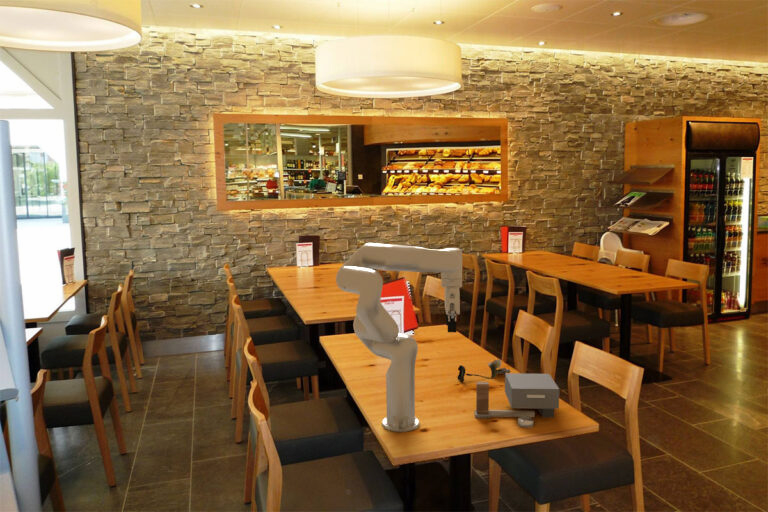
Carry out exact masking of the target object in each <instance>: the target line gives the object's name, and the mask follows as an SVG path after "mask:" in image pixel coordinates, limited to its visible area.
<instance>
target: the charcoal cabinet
mask: <svg viewBox="0 0 768 512" xmlns="http://www.w3.org/2000/svg"><path fill="white" fill-rule="evenodd" d="M504 393H505V396H506V397H507V401H508V403H509V405H510V408H511V409H537V410H538V412H539V414H540V415H541V417H542V418H553V417H554V418H555V410H556V409H557V410H559V408H560V388H559V386H558V384H557V383H556V382H555V381H554V379H553V377H552V376H551V375H550V373H517V372H515V373H511V372H510V373H505V374H504Z"/></svg>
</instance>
